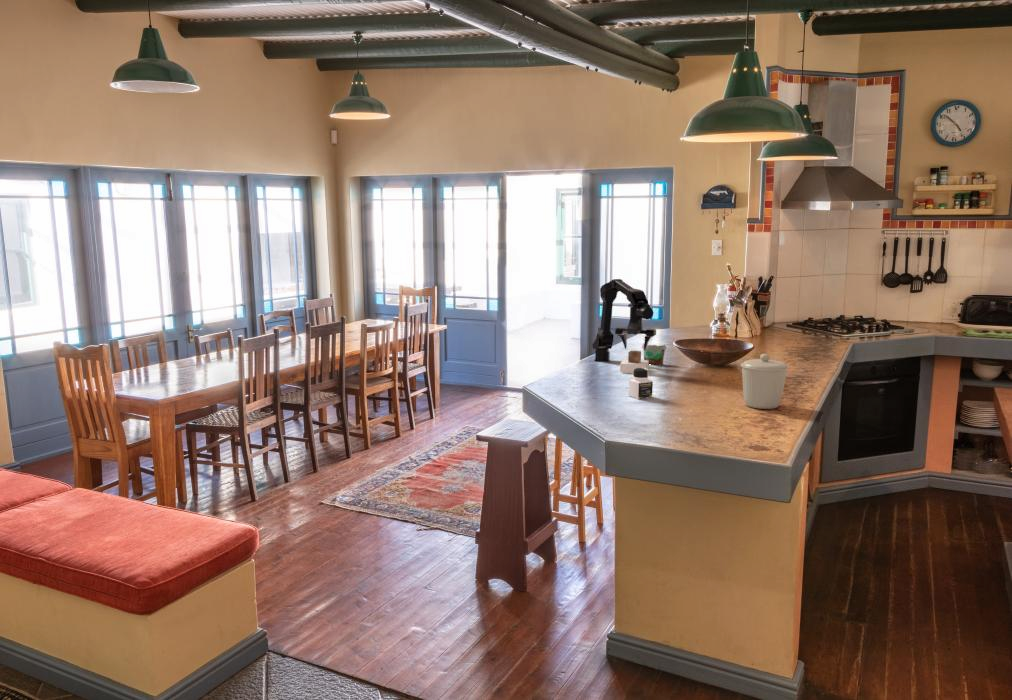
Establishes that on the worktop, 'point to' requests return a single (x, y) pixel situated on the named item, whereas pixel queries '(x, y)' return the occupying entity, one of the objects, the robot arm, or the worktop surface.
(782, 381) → the canister
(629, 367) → the plastic box
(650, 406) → the worktop surface
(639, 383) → the medicine bottle
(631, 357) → the walnut cube
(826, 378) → the worktop surface
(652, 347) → the food container
